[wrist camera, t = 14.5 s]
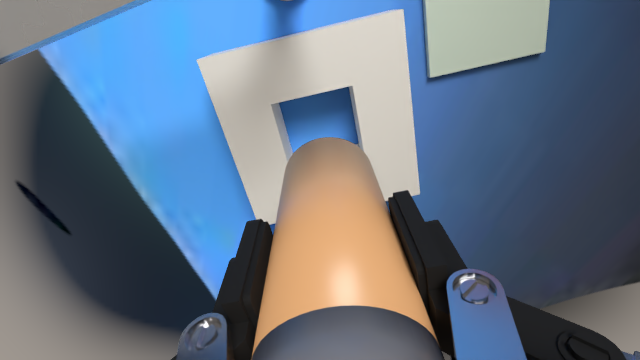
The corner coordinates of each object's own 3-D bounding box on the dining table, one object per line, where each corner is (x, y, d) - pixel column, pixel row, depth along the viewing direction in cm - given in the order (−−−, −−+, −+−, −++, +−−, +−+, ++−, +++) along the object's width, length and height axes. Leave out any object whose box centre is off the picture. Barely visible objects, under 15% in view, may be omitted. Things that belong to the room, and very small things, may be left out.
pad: (552, -89, 22) (558, -92, 21) (540, 51, 26) (544, 51, 25) (419, -54, 22) (421, -56, 22) (427, 76, 26) (430, 77, 26)
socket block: (379, -86, 22) (461, -207, 10) (407, 173, 30) (468, 272, 19) (182, -33, 23) (44, -85, 11) (265, 202, 32) (237, 313, 20)
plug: (366, 128, 15) (484, 392, 5) (378, 207, 17) (480, 513, 7) (273, 148, 16) (190, 433, 5) (296, 223, 18) (272, 535, 7)
